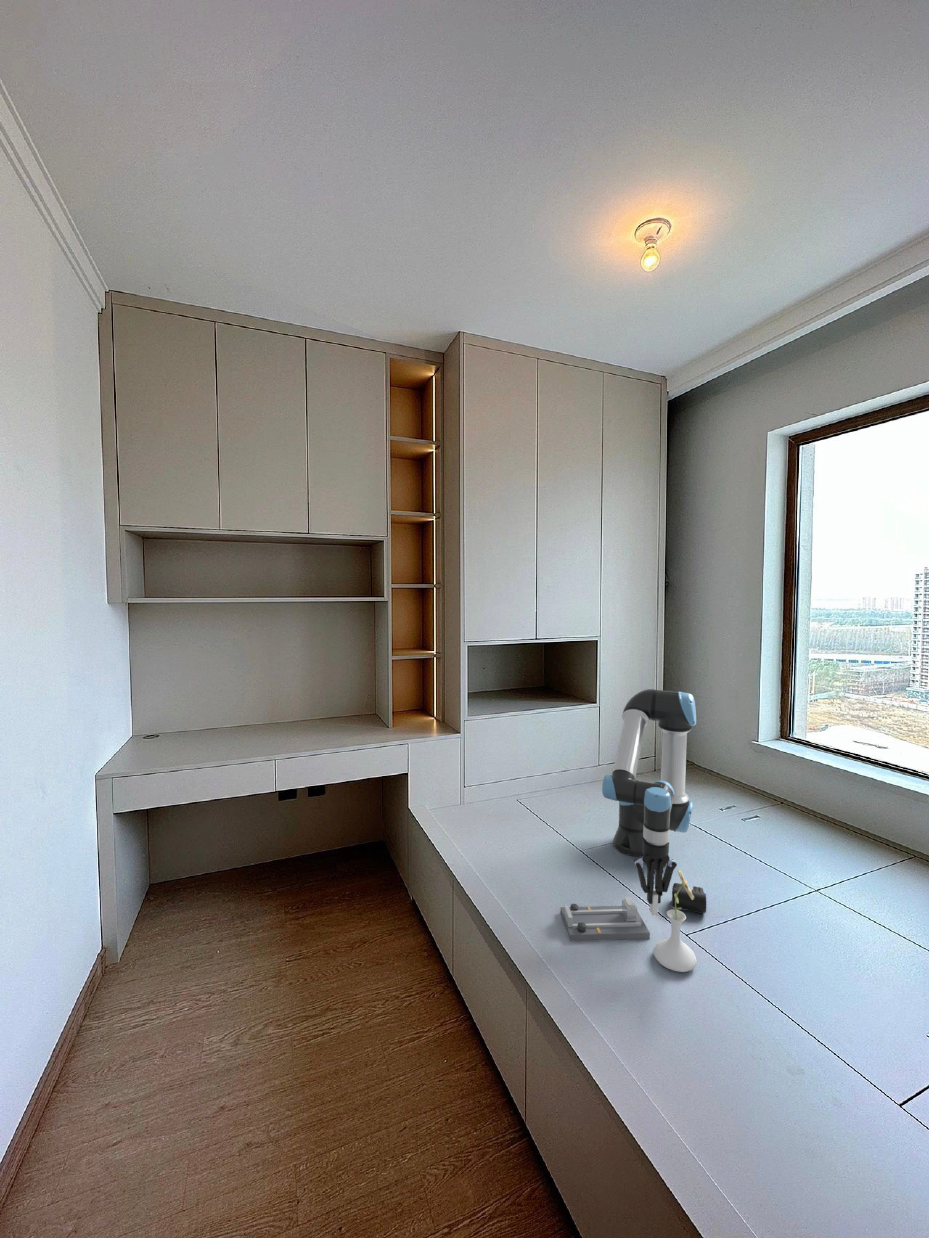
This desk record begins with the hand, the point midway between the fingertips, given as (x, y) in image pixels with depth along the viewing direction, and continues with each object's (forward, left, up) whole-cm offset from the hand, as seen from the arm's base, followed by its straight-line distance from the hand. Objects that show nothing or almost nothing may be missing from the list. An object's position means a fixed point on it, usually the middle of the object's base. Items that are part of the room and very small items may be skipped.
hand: (653, 912), depth 166 cm
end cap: (-14, -7, -4) cm, 17 cm away
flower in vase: (0, +15, -4) cm, 16 cm away
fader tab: (+8, 0, -2) cm, 8 cm away
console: (+16, 0, -4) cm, 16 cm away
